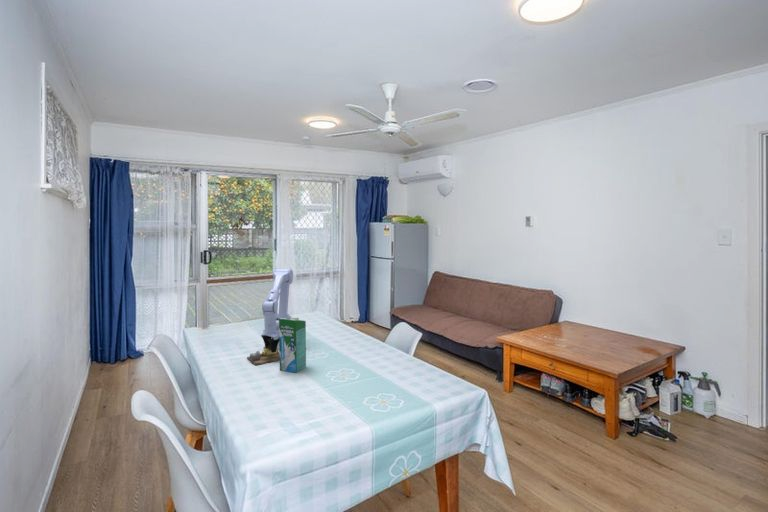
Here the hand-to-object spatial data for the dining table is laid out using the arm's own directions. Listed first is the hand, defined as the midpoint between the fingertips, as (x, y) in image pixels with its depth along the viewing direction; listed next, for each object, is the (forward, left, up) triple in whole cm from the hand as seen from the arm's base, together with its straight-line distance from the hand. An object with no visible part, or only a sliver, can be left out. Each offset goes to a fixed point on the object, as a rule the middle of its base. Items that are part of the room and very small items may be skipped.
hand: (270, 350), depth 204 cm
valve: (0, 0, -3) cm, 3 cm away
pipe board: (+2, 0, -4) cm, 5 cm away
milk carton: (-3, +20, -5) cm, 21 cm away
